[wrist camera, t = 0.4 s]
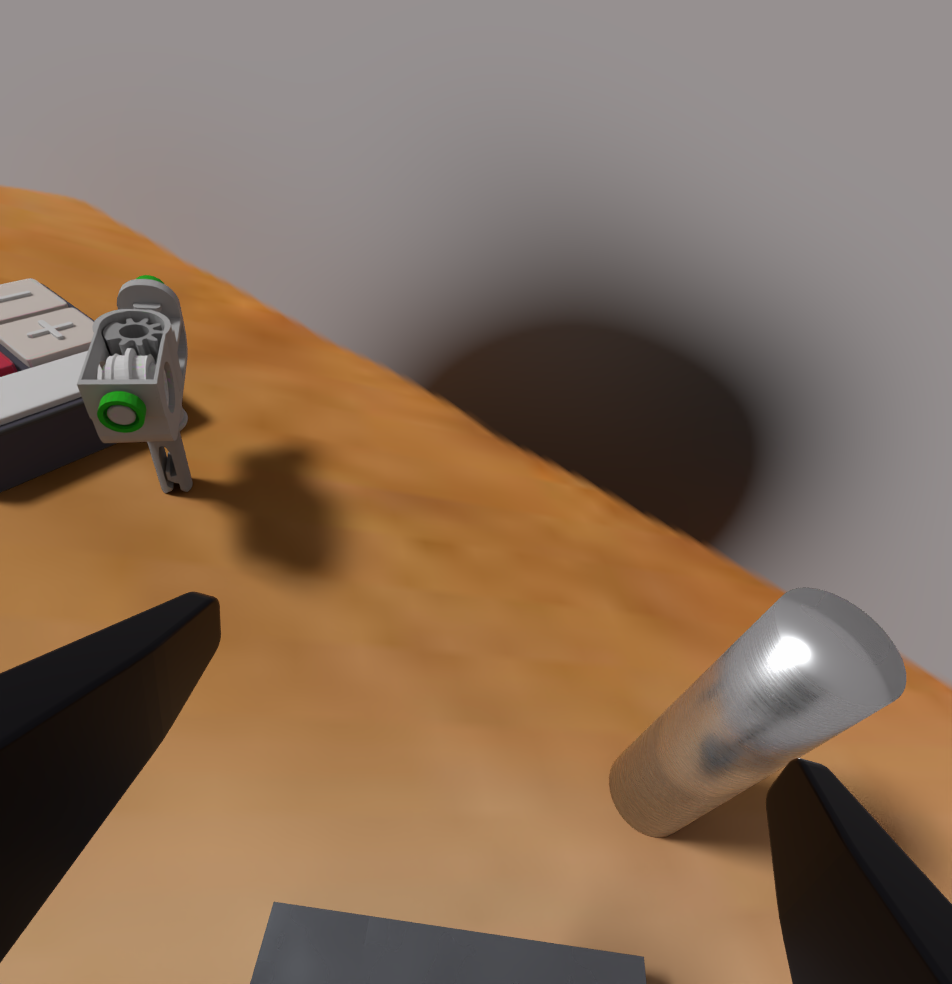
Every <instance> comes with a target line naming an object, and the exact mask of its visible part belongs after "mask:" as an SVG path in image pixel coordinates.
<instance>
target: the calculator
mask: <svg viewBox="0 0 952 984" xmlns="http://www.w3.org/2000/svg"><path fill="white" fill-rule="evenodd" d="M93 323H94V320H93V319H91V318H90V317H88V316H87V315H85V314H84V313H83V312H81V311H80V310H78V309H77V308H76V307H74V306H73V305H71V304H70V303H69V302H67V301H66V300H64V299H63V298H62V297H60V296H59V295H57V294H56V293H55V292H53V291H52V290H50V289H49V288H48V287H46V286H45V285H43V284H41V283H39V282H38V281H36V280H34V279H25V280H20V281H15V282H10V283H6V284H1V285H0V492H3V491H5V490H7V489H10V488H12V487H15V486H17V485H19V484H22V483H24V482H26V481H29V480H31V479H33V478H36V477H38V476H41V475H43V474H45V473H48V472H50V471H52V470H55V469H57V468H60V467H62V466H64V465H67V464H69V463H71V462H74V461H76V460H78V459H81V458H83V457H86V456H88V455H90V454H93V453H95V452H97V451H100V450H102V449H105V448H107V447H109V446H112V445H114V444H116V443H103V442H102V441H101V440H100V438H99V436H98V434H97V431H96V428H95V426H94V423H93V421H92V419H91V418H90V417H89V414H88V412H87V409H86V407H85V404H84V402H83V399H82V396H81V394H80V391H79V389H78V386H77V382H78V379H79V376H80V373H81V370H82V367H83V365H84V362H85V359H86V356H87V353H88V350H89V347H90V344H91V341H92V338H93V335H94V332H93V327H92V326H93ZM97 380H102V369H101V367H100V365H99V366H98V374H97Z"/></svg>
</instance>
